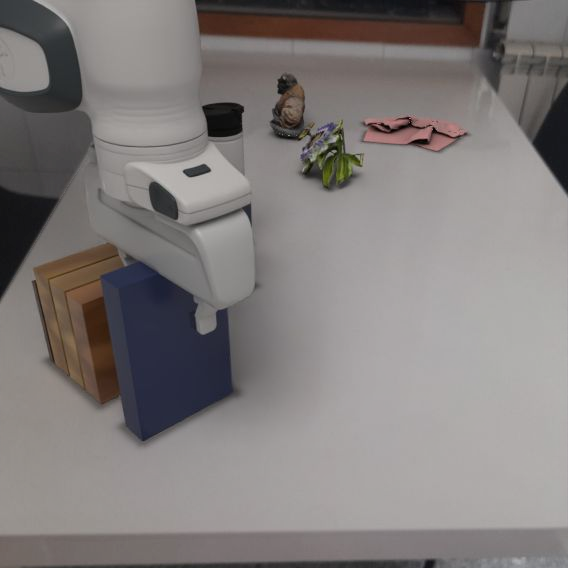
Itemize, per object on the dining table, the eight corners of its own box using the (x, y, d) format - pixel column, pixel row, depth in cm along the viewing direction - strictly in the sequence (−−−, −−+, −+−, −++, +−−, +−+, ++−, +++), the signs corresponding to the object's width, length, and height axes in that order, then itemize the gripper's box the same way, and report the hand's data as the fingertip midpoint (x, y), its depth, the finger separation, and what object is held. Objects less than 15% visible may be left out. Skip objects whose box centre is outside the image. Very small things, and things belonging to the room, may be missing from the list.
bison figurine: (306, 142, 140) (307, 89, 134) (269, 141, 139) (269, 88, 133) (303, 122, 149) (304, 72, 144) (269, 121, 149) (269, 71, 143)
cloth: (479, 133, 149) (481, 121, 148) (418, 159, 135) (419, 146, 134) (401, 110, 159) (402, 99, 158) (336, 132, 145) (336, 120, 144)
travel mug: (236, 259, 100) (230, 114, 88) (194, 249, 101) (182, 106, 90) (256, 240, 104) (253, 101, 93) (216, 231, 106) (207, 93, 95)
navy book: (125, 426, 71) (99, 275, 61) (215, 379, 77) (204, 237, 68) (142, 441, 69) (118, 288, 59) (232, 392, 76) (224, 248, 66)
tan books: (50, 360, 79) (27, 263, 72) (137, 323, 86) (123, 231, 79) (100, 404, 73) (81, 304, 66) (190, 361, 80) (180, 266, 73)
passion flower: (307, 202, 129) (294, 136, 129) (366, 191, 130) (353, 125, 130) (305, 189, 118) (291, 117, 118) (370, 177, 119) (356, 105, 118)
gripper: (54, 139, 62) (82, 278, 70) (198, 213, 51) (212, 370, 59) (119, 124, 66) (138, 258, 74) (266, 190, 55) (270, 340, 63)
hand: (172, 308), depth 66 cm, fingers open, 8 cm apart
